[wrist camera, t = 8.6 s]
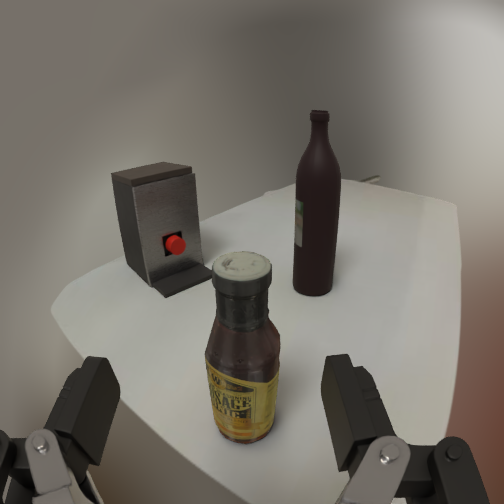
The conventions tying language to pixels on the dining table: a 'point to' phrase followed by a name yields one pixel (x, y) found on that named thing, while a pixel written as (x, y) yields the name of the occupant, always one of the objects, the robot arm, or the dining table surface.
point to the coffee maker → (160, 225)
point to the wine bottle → (316, 211)
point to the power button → (175, 245)
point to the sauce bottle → (243, 348)
